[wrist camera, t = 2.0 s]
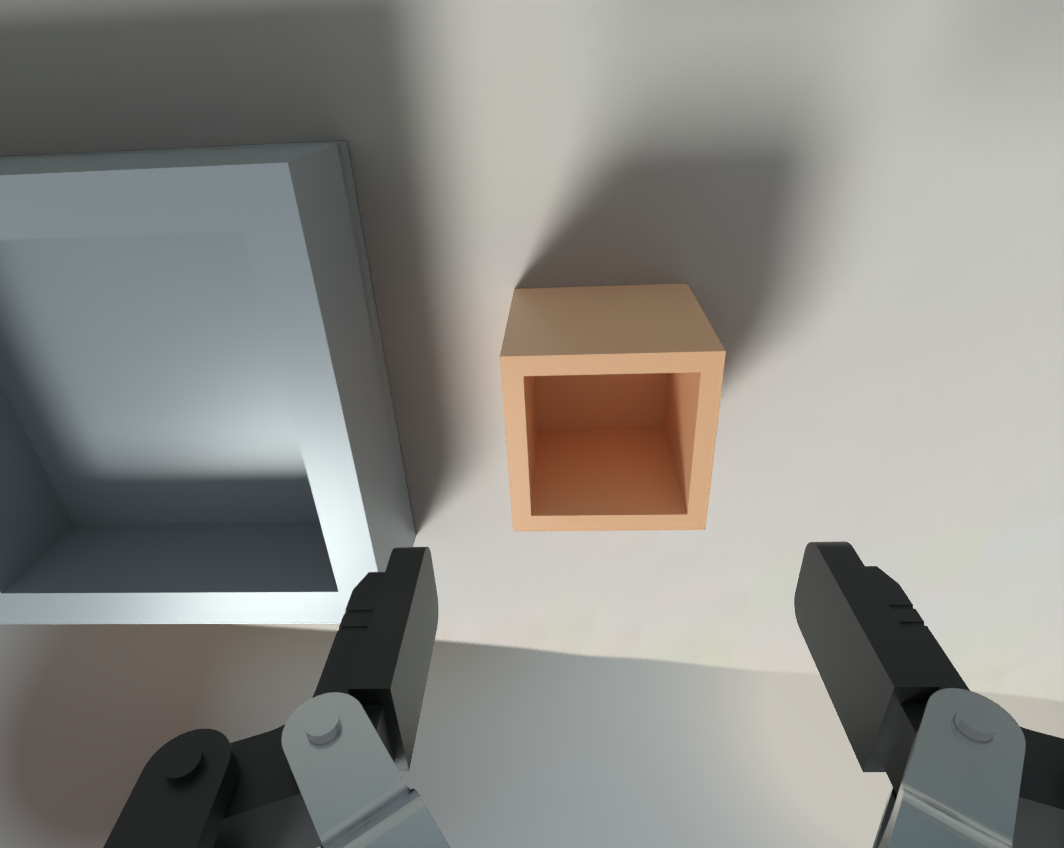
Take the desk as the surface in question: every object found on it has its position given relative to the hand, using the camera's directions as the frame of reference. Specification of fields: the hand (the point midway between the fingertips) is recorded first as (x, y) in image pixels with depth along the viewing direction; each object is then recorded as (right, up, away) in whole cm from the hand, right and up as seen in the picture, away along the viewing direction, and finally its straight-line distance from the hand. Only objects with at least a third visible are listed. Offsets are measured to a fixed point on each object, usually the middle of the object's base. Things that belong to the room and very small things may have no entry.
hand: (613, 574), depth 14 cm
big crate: (-15, +5, +11) cm, 19 cm away
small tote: (+1, +5, +10) cm, 11 cm away
